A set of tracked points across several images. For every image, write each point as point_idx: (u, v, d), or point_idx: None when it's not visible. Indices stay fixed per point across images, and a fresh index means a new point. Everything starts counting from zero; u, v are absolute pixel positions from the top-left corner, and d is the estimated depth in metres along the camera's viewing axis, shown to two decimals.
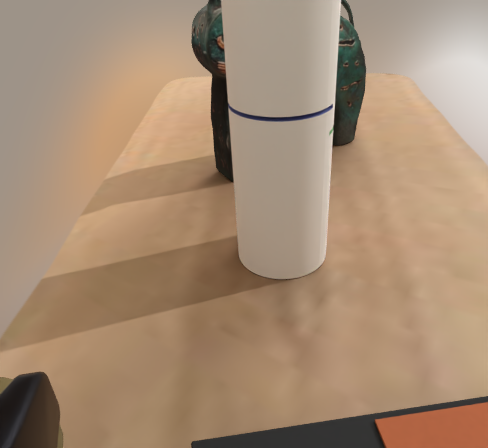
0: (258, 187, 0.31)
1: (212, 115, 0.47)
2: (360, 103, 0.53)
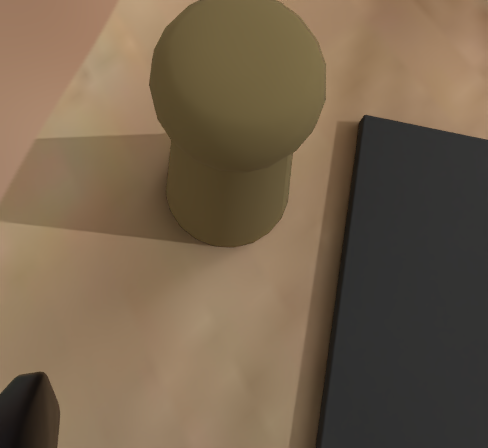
0: None
1: None
2: None
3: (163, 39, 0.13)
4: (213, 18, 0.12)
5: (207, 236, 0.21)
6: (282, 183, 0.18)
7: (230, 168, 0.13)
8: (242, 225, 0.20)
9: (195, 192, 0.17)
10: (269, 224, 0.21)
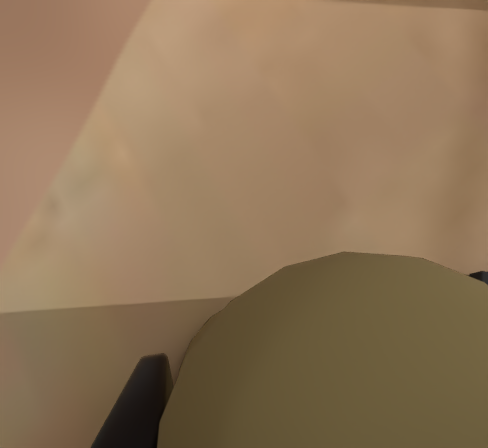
0: None
1: None
2: None
3: (193, 444, 0.04)
4: (341, 398, 0.04)
5: None
6: None
7: None
8: None
9: None
10: None
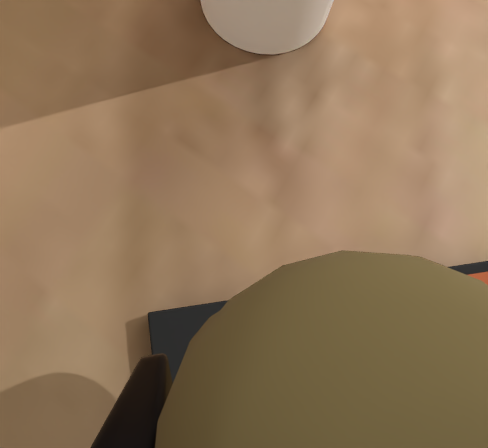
0: None
1: None
2: None
3: (191, 442, 0.04)
4: (338, 397, 0.04)
5: None
6: None
7: None
8: None
9: None
10: None
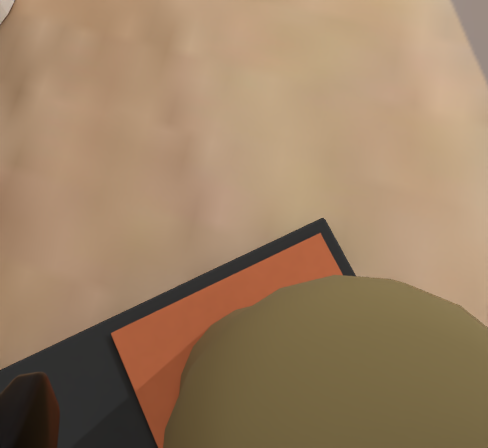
0: None
1: None
2: None
3: None
4: (326, 411, 0.05)
5: None
6: None
7: None
8: None
9: None
10: None
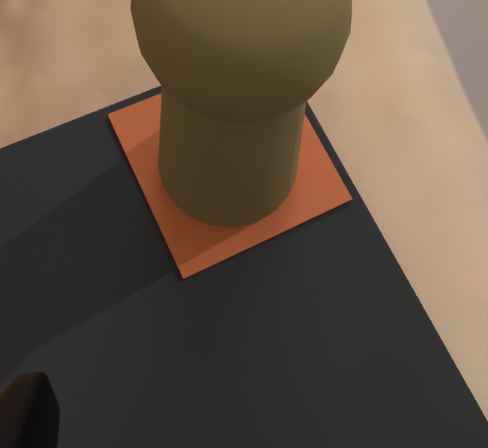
0: None
1: None
2: None
3: None
4: None
5: (204, 214, 0.18)
6: (292, 149, 0.16)
7: (230, 115, 0.11)
8: (244, 200, 0.17)
9: (189, 156, 0.15)
10: (275, 201, 0.19)
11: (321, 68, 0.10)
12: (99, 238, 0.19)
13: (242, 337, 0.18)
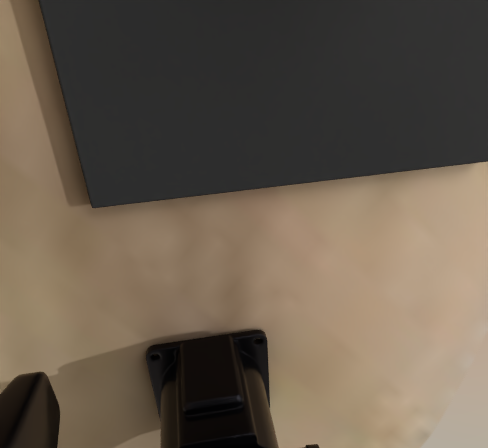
0: None
1: None
2: None
3: None
4: None
5: None
6: None
7: None
8: None
9: None
10: None
11: None
12: None
13: None
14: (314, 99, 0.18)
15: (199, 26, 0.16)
